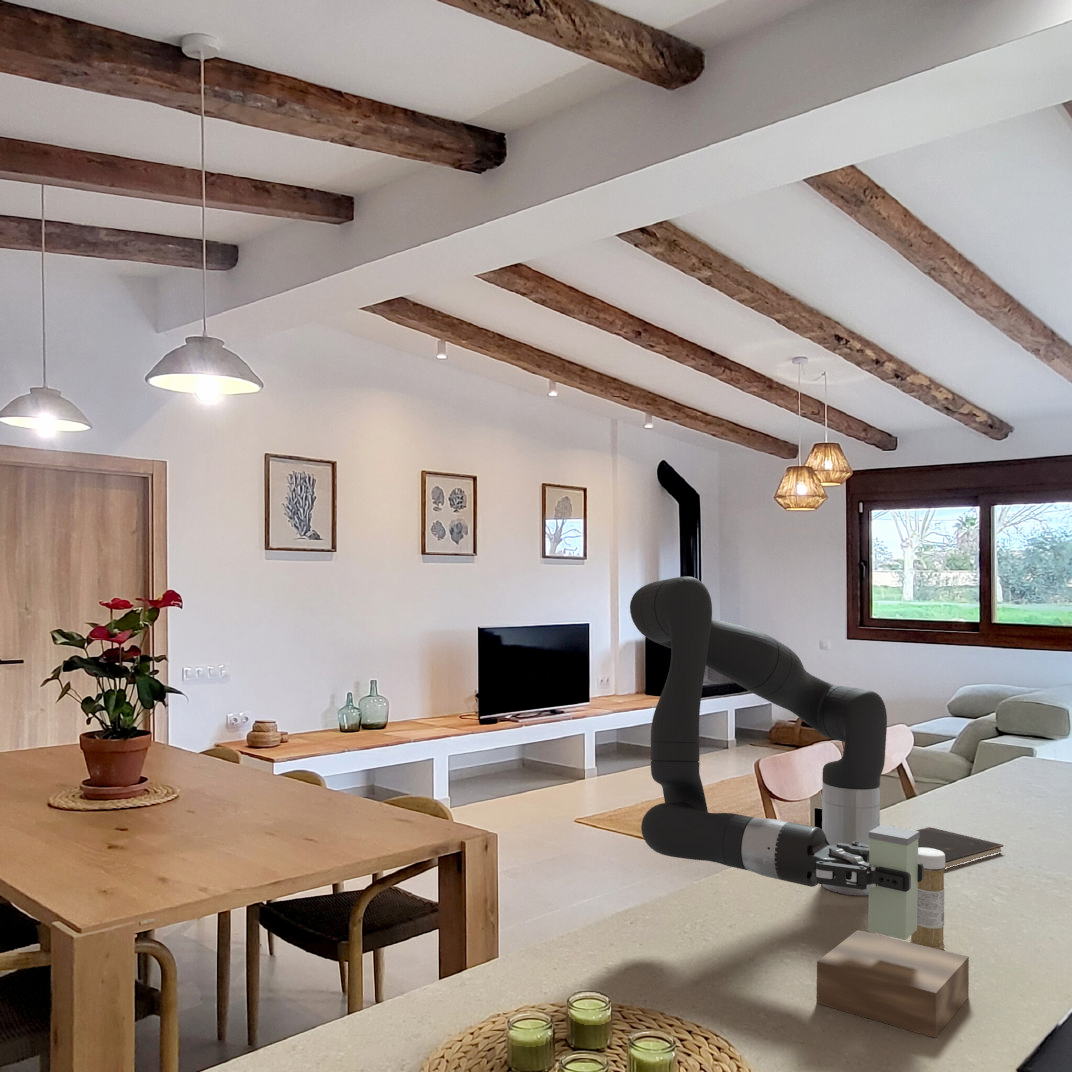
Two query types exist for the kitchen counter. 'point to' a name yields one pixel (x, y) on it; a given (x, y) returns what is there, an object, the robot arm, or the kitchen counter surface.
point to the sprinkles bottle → (930, 900)
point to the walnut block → (894, 982)
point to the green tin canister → (890, 906)
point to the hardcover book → (956, 845)
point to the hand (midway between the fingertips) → (915, 877)
